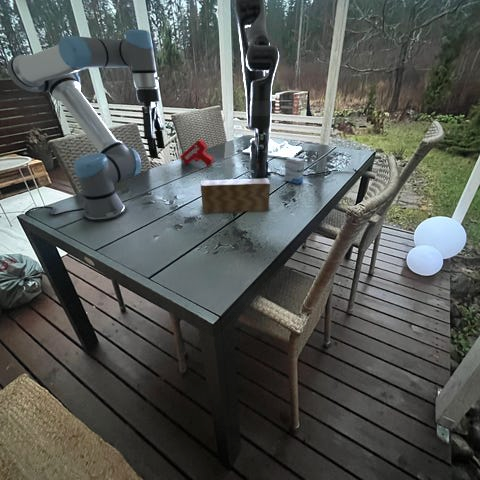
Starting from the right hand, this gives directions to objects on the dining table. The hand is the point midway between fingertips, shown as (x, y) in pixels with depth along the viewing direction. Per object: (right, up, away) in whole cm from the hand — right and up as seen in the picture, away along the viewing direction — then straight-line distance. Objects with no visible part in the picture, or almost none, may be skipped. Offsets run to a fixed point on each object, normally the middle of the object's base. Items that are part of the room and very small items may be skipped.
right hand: (258, 158), depth 106 cm
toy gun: (-34, +15, +63) cm, 73 cm away
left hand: (-38, +1, -4) cm, 39 cm away
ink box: (+21, -1, +37) cm, 43 cm away
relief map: (+16, +32, +88) cm, 95 cm away
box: (-9, -18, +10) cm, 23 cm away
